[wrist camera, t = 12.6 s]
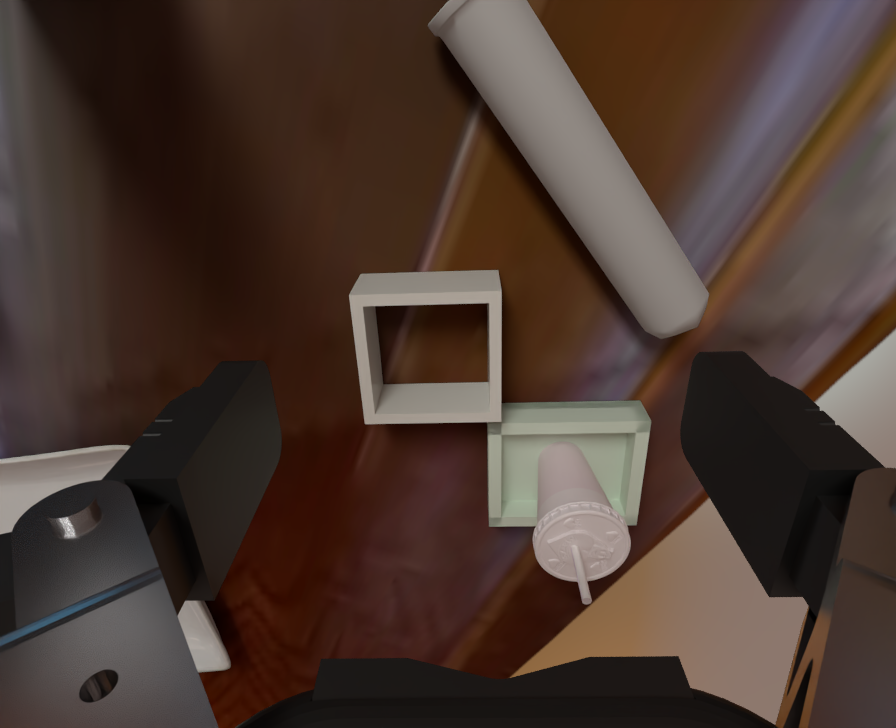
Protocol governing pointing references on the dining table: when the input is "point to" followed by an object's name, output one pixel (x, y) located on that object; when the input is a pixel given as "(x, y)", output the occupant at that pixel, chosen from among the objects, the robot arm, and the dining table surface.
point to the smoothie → (576, 520)
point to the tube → (574, 158)
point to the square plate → (35, 477)
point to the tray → (582, 423)
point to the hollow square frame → (427, 398)
